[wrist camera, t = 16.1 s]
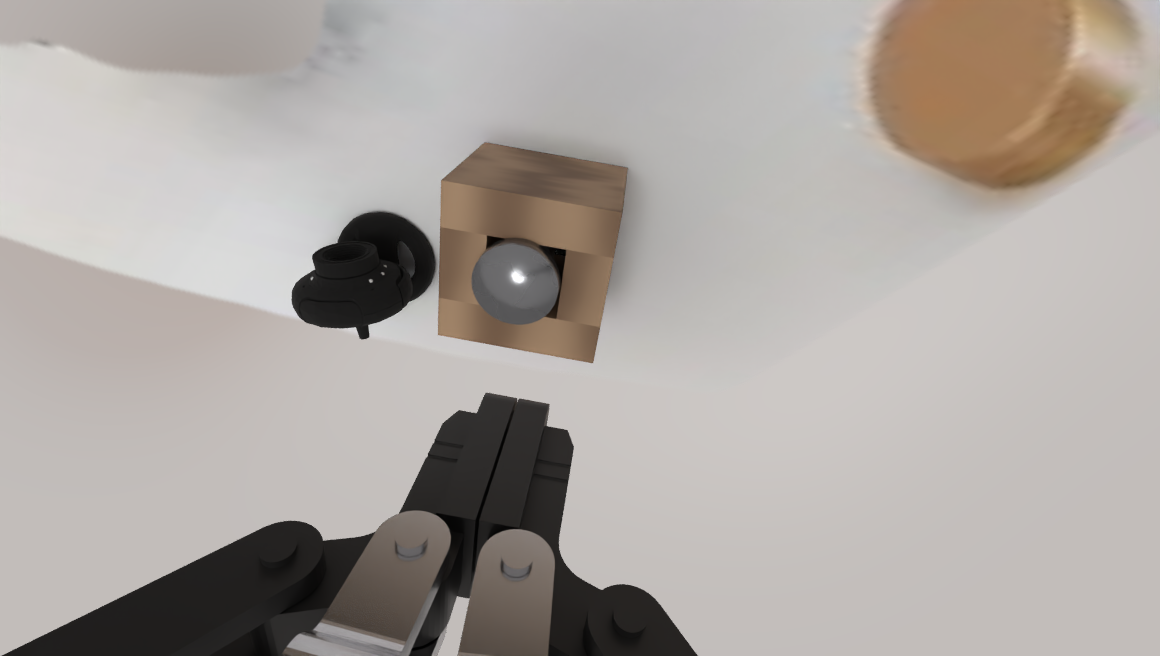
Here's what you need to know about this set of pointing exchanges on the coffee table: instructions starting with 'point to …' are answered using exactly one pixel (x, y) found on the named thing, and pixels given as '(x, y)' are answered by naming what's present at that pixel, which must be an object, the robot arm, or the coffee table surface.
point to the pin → (516, 280)
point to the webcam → (363, 275)
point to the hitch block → (543, 215)
